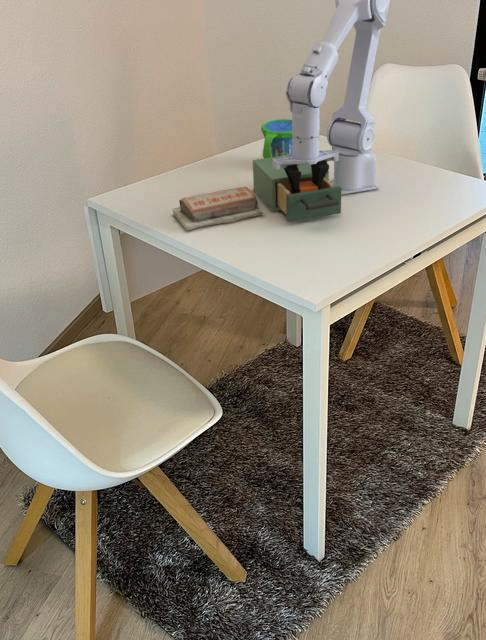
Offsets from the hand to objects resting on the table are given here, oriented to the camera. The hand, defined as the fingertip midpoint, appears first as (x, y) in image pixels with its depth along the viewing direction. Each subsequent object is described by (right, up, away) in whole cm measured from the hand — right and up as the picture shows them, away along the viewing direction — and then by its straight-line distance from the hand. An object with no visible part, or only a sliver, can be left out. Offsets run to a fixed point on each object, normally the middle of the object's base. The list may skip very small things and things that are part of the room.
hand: (305, 196), depth 161 cm
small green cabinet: (-3, +2, +10) cm, 11 cm away
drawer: (+1, -3, 0) cm, 3 cm away
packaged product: (-20, -4, +2) cm, 20 cm away
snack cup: (-5, +14, +28) cm, 32 cm away
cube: (0, -1, +1) cm, 1 cm away
